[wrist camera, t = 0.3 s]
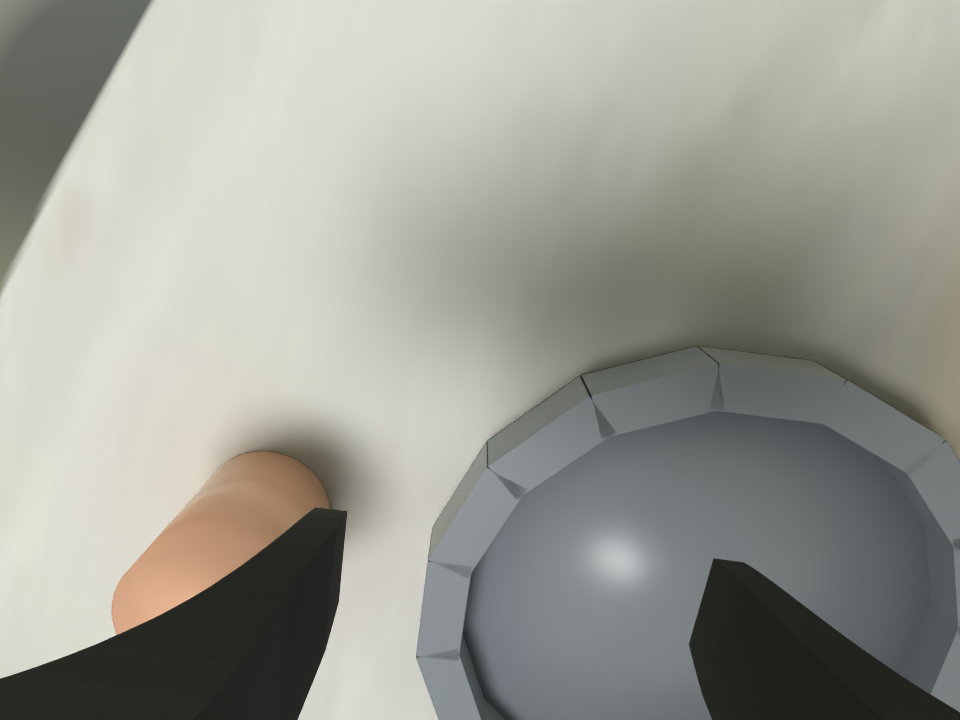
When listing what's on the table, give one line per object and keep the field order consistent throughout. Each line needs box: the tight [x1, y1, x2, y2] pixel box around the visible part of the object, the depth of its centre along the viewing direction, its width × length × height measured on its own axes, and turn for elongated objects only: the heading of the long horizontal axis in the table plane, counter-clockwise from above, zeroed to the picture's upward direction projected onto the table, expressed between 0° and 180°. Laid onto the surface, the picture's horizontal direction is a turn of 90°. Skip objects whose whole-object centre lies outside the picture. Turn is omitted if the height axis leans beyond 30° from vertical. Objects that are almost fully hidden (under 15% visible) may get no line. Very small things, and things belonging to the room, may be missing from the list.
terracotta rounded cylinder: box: [112, 451, 330, 635], centre depth 20 cm, size 4×4×6 cm
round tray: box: [416, 346, 960, 720], centre depth 23 cm, size 20×20×2 cm
